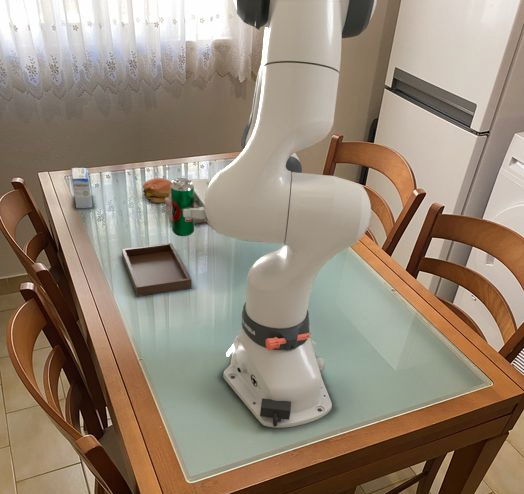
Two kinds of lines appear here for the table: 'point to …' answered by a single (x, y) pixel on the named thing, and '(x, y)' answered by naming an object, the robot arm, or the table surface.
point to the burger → (157, 189)
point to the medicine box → (81, 188)
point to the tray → (155, 269)
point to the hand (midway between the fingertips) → (178, 206)
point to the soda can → (182, 198)
